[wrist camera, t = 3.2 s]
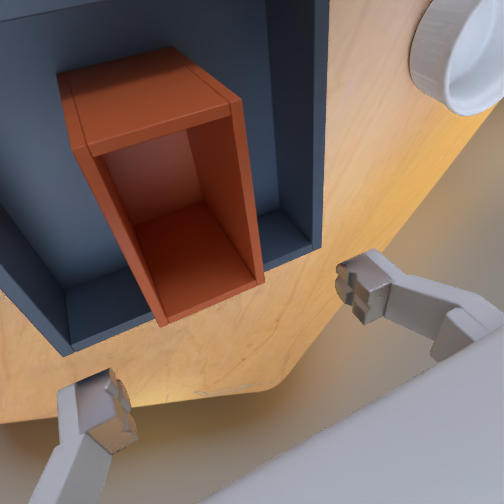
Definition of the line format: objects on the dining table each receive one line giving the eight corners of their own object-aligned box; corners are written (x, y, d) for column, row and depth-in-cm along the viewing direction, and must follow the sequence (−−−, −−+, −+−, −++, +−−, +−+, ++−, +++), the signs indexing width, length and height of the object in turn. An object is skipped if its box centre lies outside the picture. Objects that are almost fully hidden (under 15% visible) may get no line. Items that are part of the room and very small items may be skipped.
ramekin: (425, 119, 32) (467, 138, 29) (382, 50, 26) (429, 65, 23) (507, 26, 29) (562, 36, 26) (480, -75, 23) (547, -76, 20)
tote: (173, 45, 19) (242, 98, 13) (209, 200, 26) (265, 282, 20) (55, 74, 18) (70, 148, 11) (126, 229, 25) (160, 328, 18)
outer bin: (267, -70, 18) (332, -71, 14) (283, 207, 31) (321, 247, 27) (-161, 6, 14) (-235, 34, 10) (57, 294, 26) (62, 358, 22)
